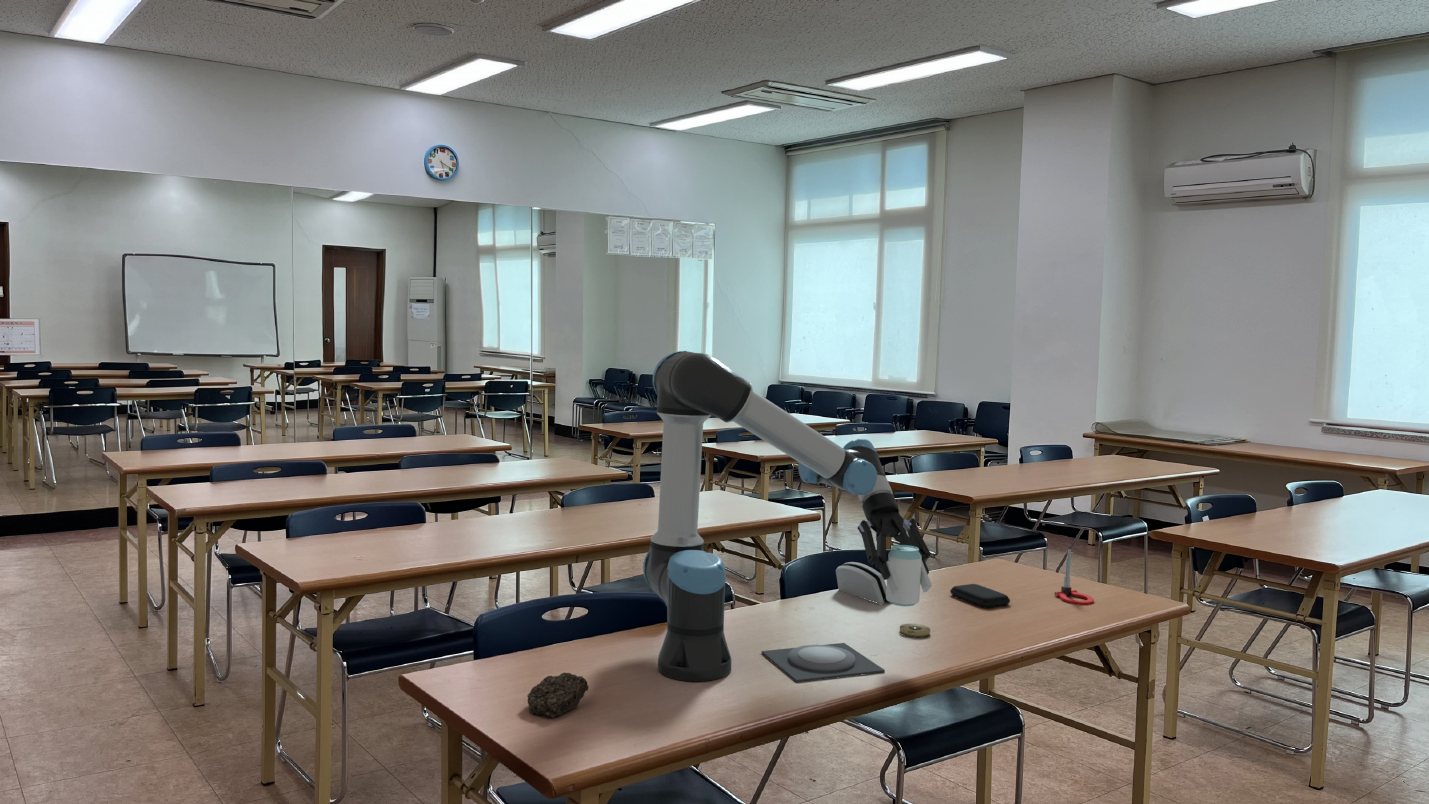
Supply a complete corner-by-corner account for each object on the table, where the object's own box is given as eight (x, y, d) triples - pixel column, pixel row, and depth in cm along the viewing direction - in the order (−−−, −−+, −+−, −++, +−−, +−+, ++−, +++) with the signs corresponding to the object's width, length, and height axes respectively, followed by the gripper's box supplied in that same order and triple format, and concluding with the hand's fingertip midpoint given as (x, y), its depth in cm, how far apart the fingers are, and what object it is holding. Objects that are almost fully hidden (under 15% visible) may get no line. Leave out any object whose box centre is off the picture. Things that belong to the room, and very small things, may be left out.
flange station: (796, 682, 196) (796, 673, 196) (761, 653, 213) (761, 645, 213) (884, 672, 203) (885, 663, 203) (844, 644, 220) (844, 636, 220)
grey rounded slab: (895, 602, 255) (887, 568, 253) (882, 610, 253) (874, 576, 250) (852, 587, 269) (843, 554, 267) (839, 594, 267) (831, 562, 264)
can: (907, 609, 207) (910, 552, 206) (879, 601, 212) (882, 546, 211) (925, 603, 212) (928, 548, 211) (897, 596, 217) (900, 542, 216)
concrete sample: (559, 691, 189) (560, 665, 189) (596, 705, 183) (597, 678, 183) (512, 708, 181) (513, 681, 180) (549, 723, 174) (550, 695, 174)
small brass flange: (909, 638, 225) (909, 633, 225) (893, 629, 232) (894, 624, 232) (936, 636, 228) (936, 630, 228) (919, 627, 234) (920, 621, 234)
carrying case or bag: (1016, 606, 255) (977, 592, 268) (1017, 594, 255) (978, 581, 268) (984, 611, 250) (946, 596, 264) (985, 599, 250) (947, 584, 263)
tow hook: (1100, 605, 259) (1076, 594, 267) (1104, 557, 257) (1080, 547, 266) (1074, 607, 256) (1050, 596, 264) (1078, 559, 254) (1054, 549, 263)
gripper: (909, 508, 228) (944, 595, 214) (831, 511, 221) (863, 601, 207) (922, 489, 223) (960, 578, 209) (843, 491, 216) (877, 583, 202)
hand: (912, 589), depth 208 cm, fingers closed on can, 7 cm apart
